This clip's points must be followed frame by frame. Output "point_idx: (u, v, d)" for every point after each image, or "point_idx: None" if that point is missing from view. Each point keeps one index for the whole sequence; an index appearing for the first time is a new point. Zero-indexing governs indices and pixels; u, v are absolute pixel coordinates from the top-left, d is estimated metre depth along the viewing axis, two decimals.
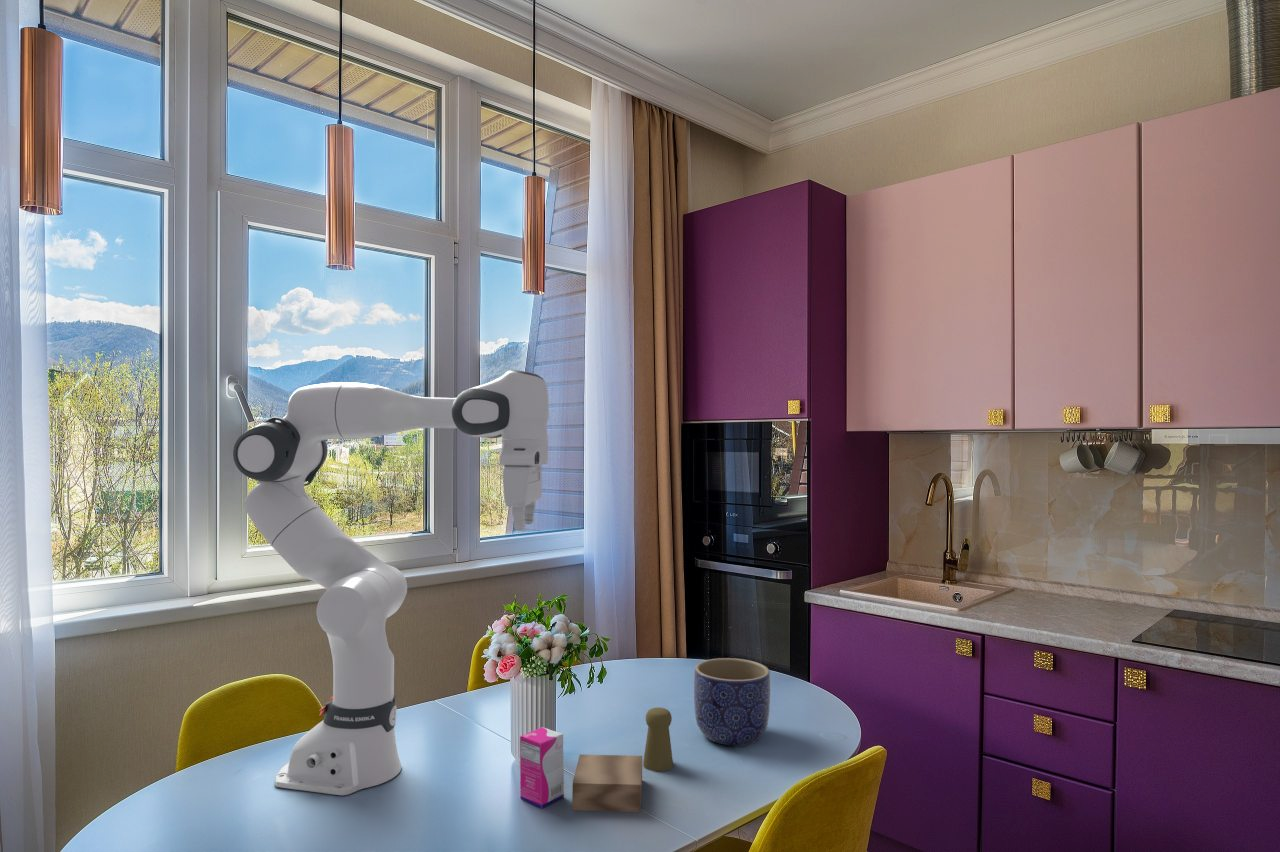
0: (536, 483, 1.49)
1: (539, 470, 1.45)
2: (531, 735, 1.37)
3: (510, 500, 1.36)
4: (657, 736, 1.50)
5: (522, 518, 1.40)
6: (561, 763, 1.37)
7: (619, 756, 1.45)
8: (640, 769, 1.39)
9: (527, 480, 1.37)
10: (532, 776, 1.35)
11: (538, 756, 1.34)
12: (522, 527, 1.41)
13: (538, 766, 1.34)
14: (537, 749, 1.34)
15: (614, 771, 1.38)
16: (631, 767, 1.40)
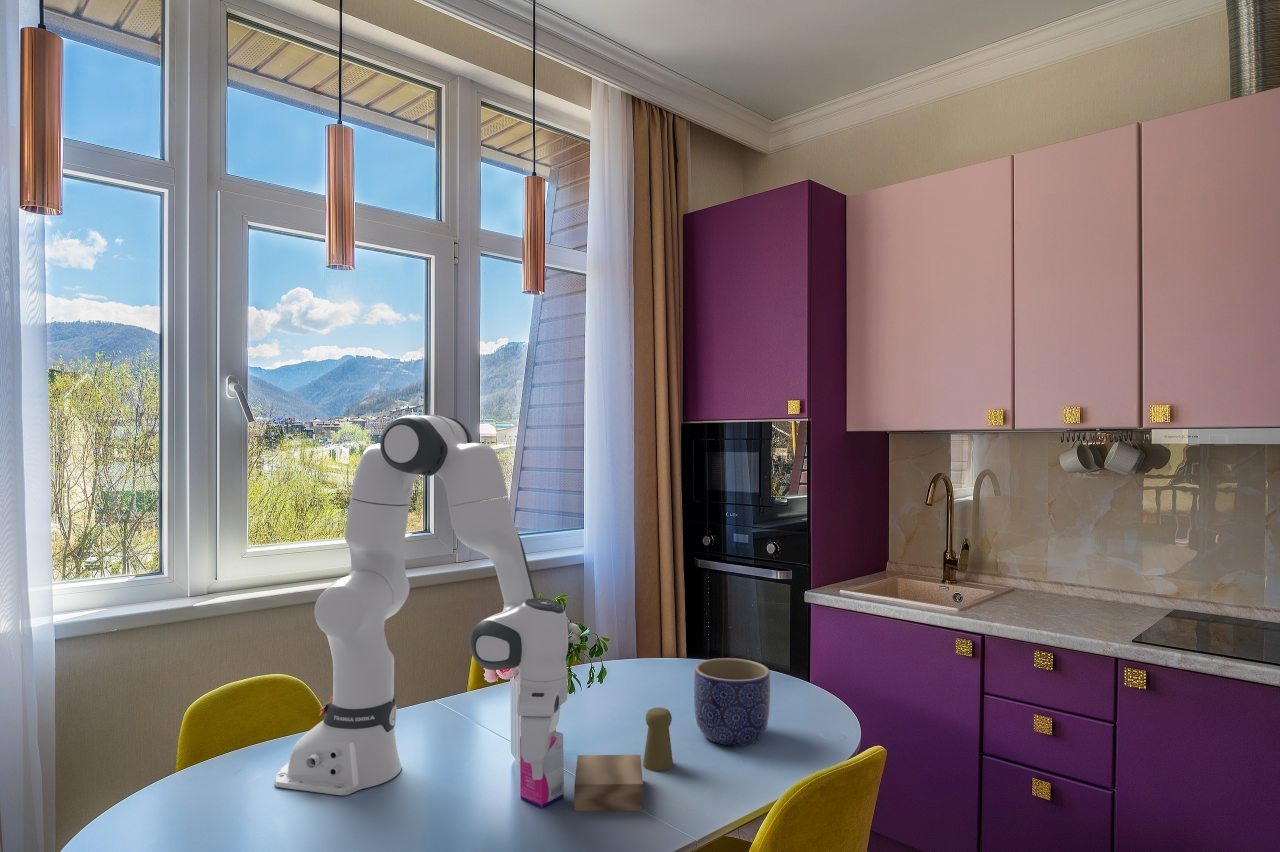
0: (554, 715, 1.40)
1: (558, 708, 1.36)
2: None
3: (528, 757, 1.27)
4: (657, 736, 1.50)
5: (541, 768, 1.32)
6: (561, 763, 1.37)
7: (617, 756, 1.45)
8: (640, 768, 1.39)
9: (546, 734, 1.28)
10: None
11: None
12: (541, 776, 1.32)
13: None
14: None
15: (614, 770, 1.38)
16: (631, 767, 1.40)
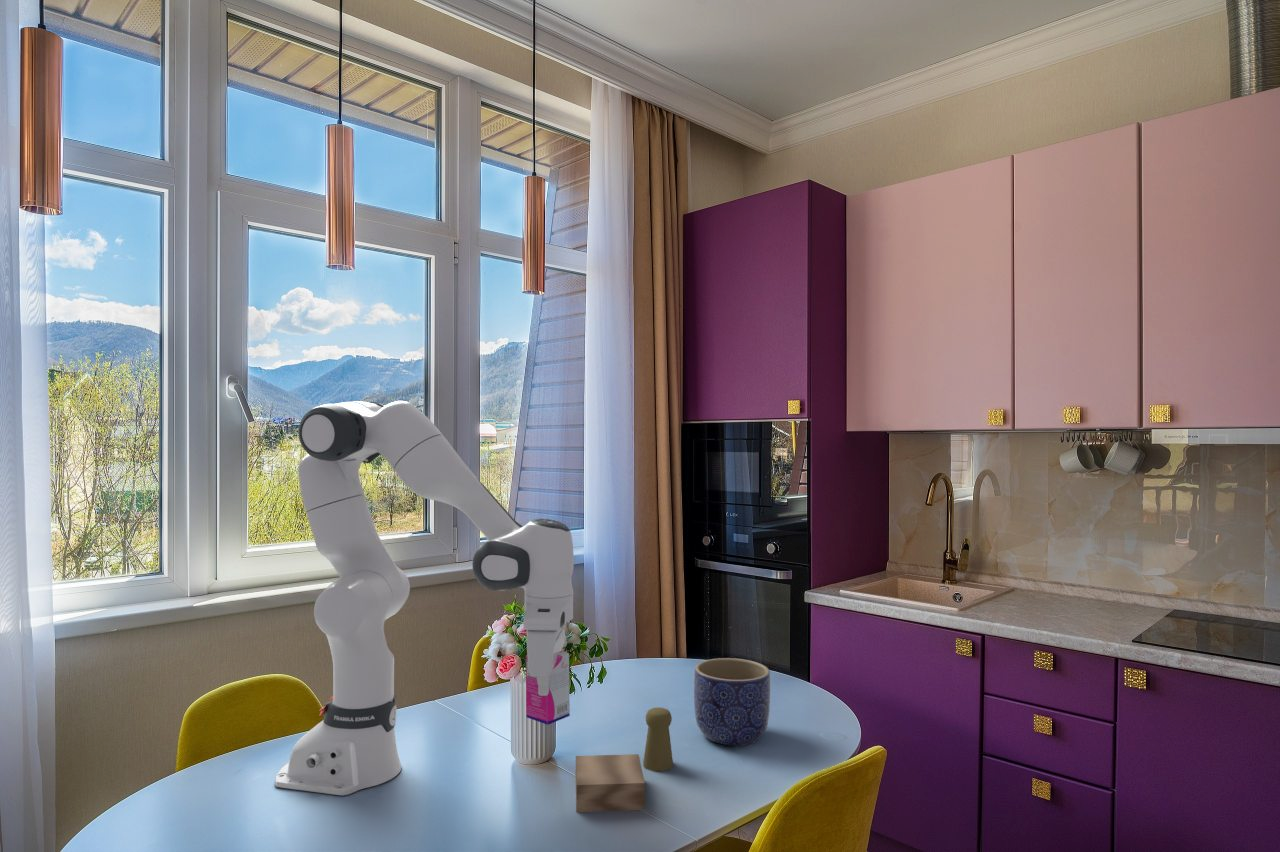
0: (560, 636, 1.41)
1: (564, 627, 1.37)
2: None
3: (534, 670, 1.28)
4: (657, 736, 1.50)
5: (547, 683, 1.32)
6: (567, 682, 1.38)
7: (615, 756, 1.45)
8: (640, 767, 1.40)
9: (553, 648, 1.28)
10: (538, 694, 1.35)
11: None
12: (547, 692, 1.32)
13: None
14: None
15: (614, 770, 1.38)
16: (631, 766, 1.40)
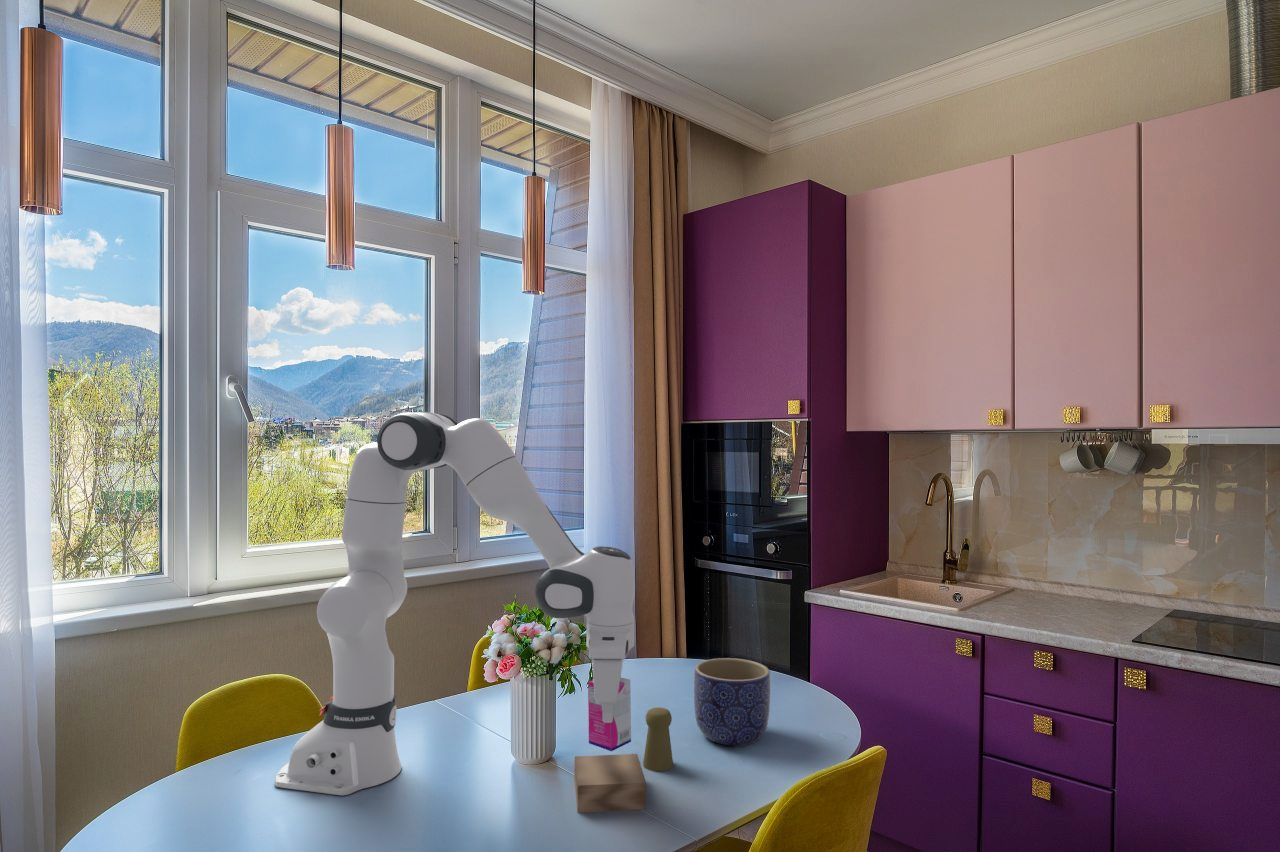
0: None
1: None
2: None
3: (601, 698, 1.29)
4: (657, 736, 1.50)
5: (611, 711, 1.34)
6: (628, 708, 1.39)
7: (614, 755, 1.45)
8: (640, 767, 1.40)
9: (619, 676, 1.30)
10: (602, 721, 1.37)
11: None
12: (611, 719, 1.34)
13: None
14: None
15: (615, 770, 1.38)
16: (631, 766, 1.40)
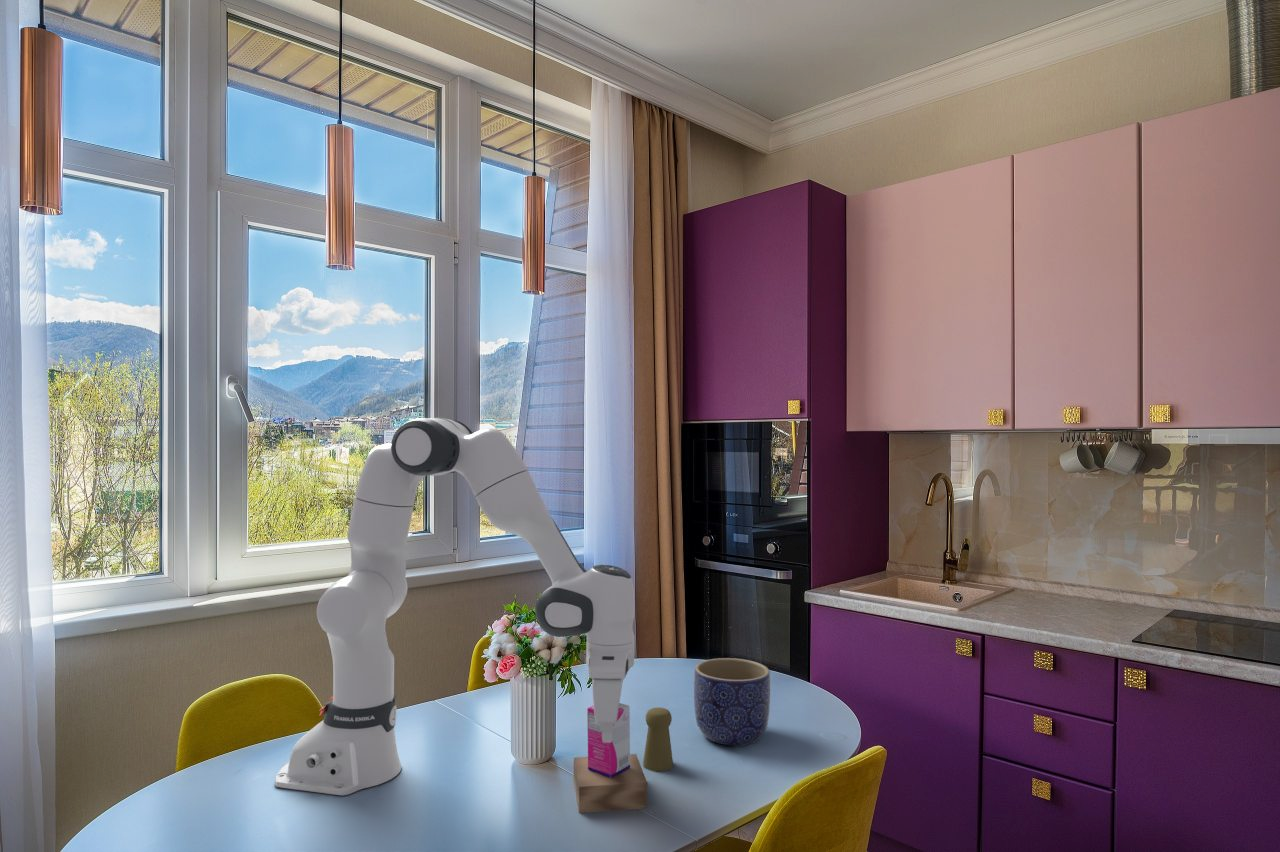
0: None
1: None
2: None
3: (601, 719, 1.29)
4: (657, 736, 1.50)
5: (611, 730, 1.33)
6: (628, 734, 1.39)
7: None
8: (640, 767, 1.40)
9: (619, 696, 1.30)
10: (601, 747, 1.37)
11: None
12: (611, 739, 1.34)
13: None
14: None
15: None
16: (631, 766, 1.40)
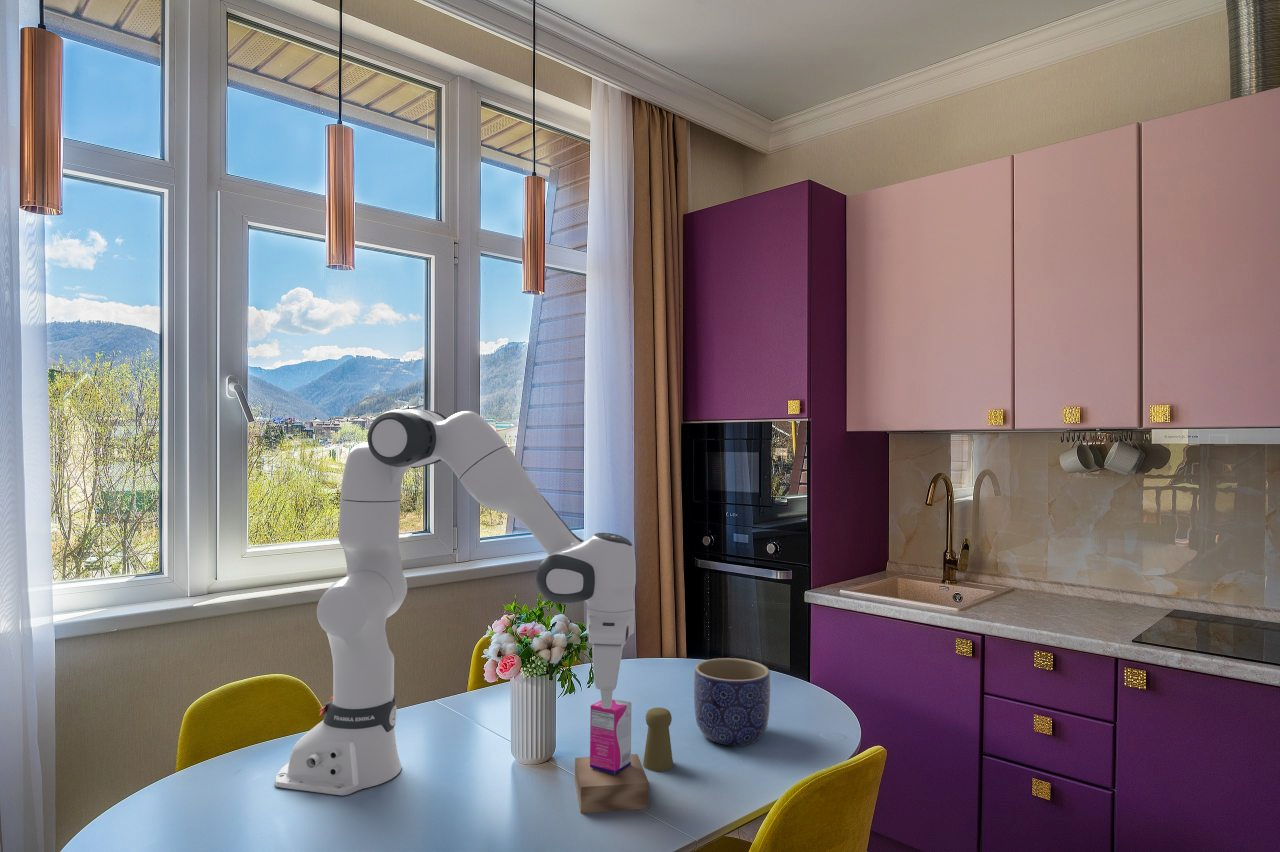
0: None
1: (626, 640, 1.38)
2: None
3: (600, 684, 1.29)
4: (657, 736, 1.50)
5: (610, 697, 1.33)
6: (629, 731, 1.41)
7: None
8: (641, 767, 1.40)
9: (618, 662, 1.30)
10: (605, 744, 1.38)
11: (612, 723, 1.37)
12: (610, 705, 1.34)
13: (611, 733, 1.37)
14: (611, 716, 1.37)
15: None
16: (632, 766, 1.40)
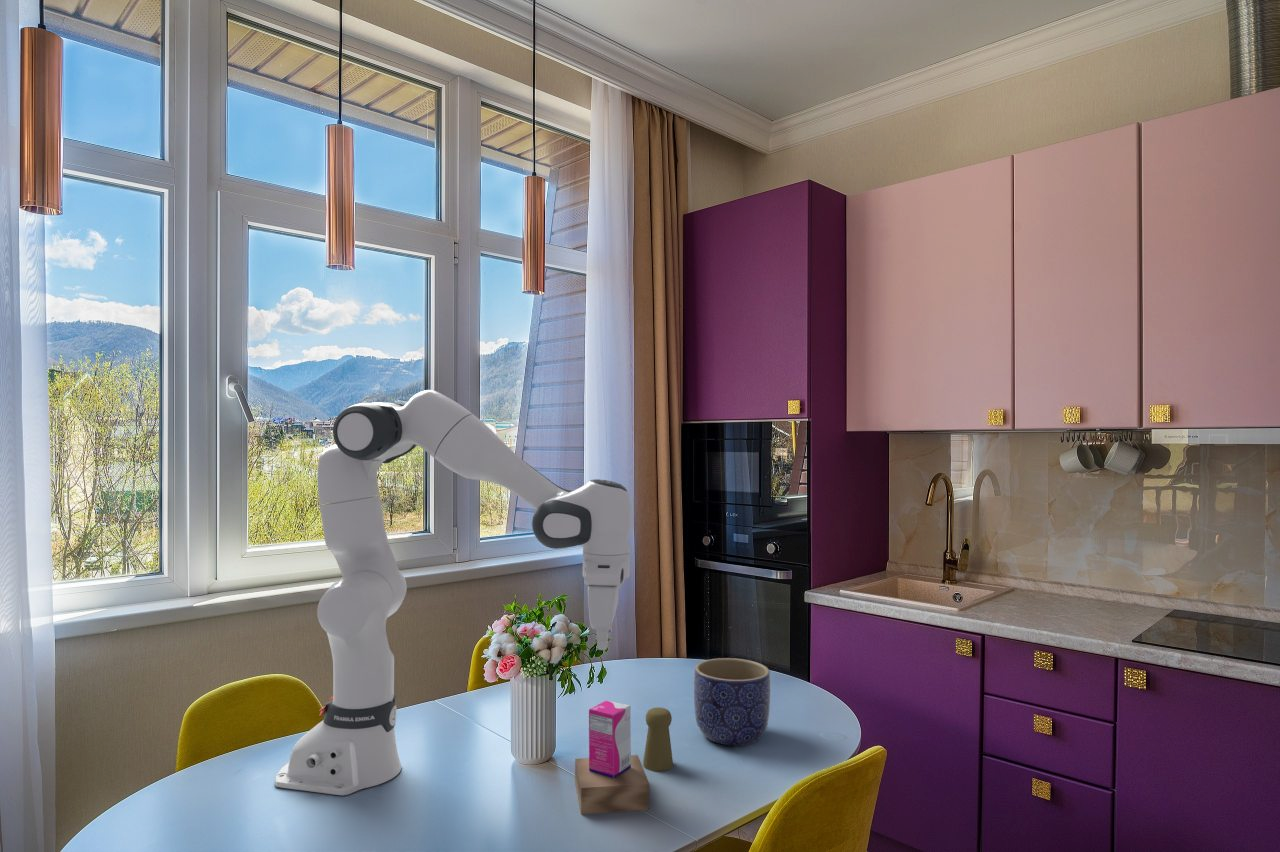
0: (616, 594, 1.44)
1: (621, 584, 1.40)
2: (599, 707, 1.39)
3: (595, 623, 1.31)
4: (657, 736, 1.50)
5: (606, 638, 1.35)
6: (629, 734, 1.40)
7: None
8: (642, 768, 1.40)
9: (613, 602, 1.32)
10: (604, 748, 1.36)
11: (610, 728, 1.36)
12: (605, 647, 1.36)
13: (610, 737, 1.36)
14: (609, 721, 1.36)
15: None
16: (632, 767, 1.40)
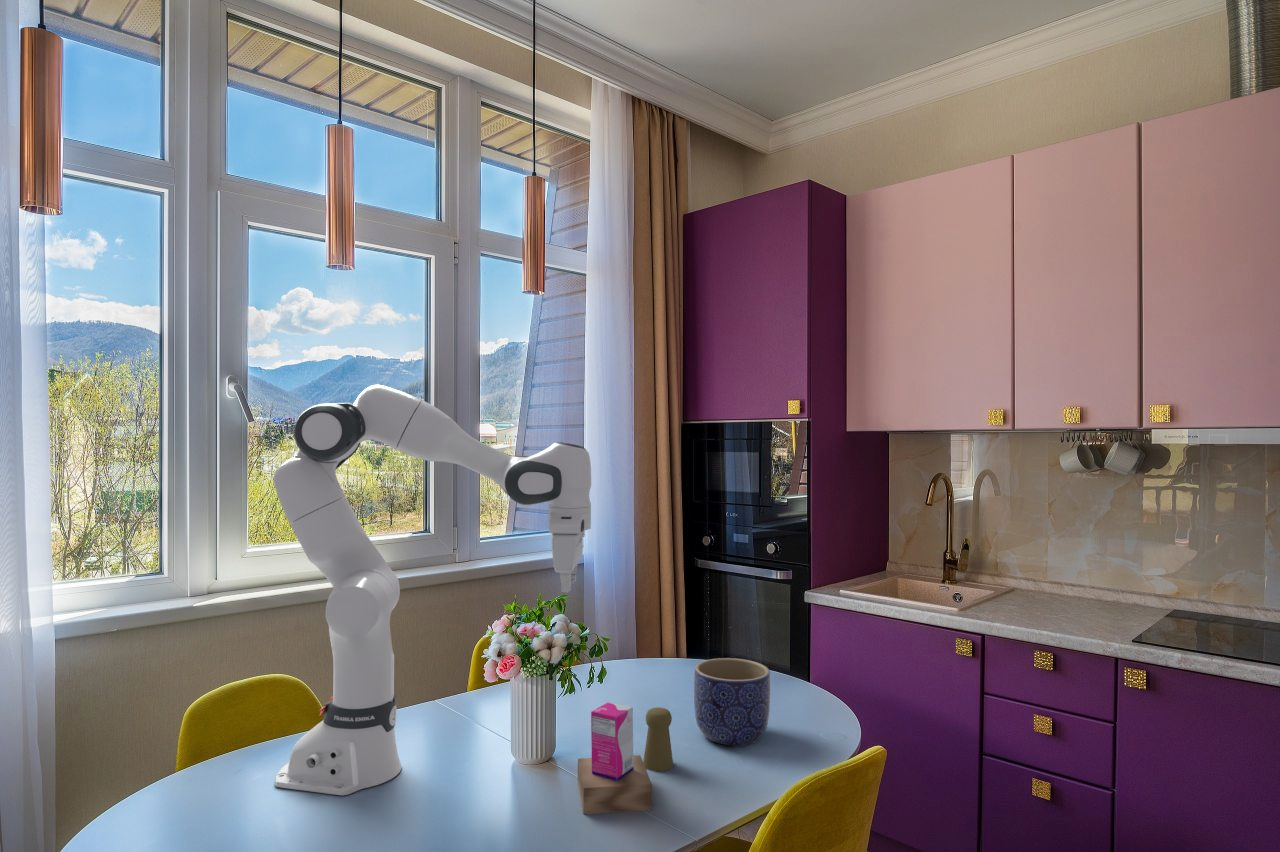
0: (579, 545, 1.61)
1: (583, 535, 1.57)
2: (602, 709, 1.38)
3: (559, 567, 1.48)
4: (657, 736, 1.50)
5: (569, 581, 1.52)
6: (631, 736, 1.39)
7: None
8: (644, 768, 1.40)
9: (574, 548, 1.48)
10: (606, 750, 1.35)
11: (613, 730, 1.35)
12: (568, 589, 1.52)
13: (613, 740, 1.35)
14: (612, 723, 1.35)
15: None
16: (635, 767, 1.40)
